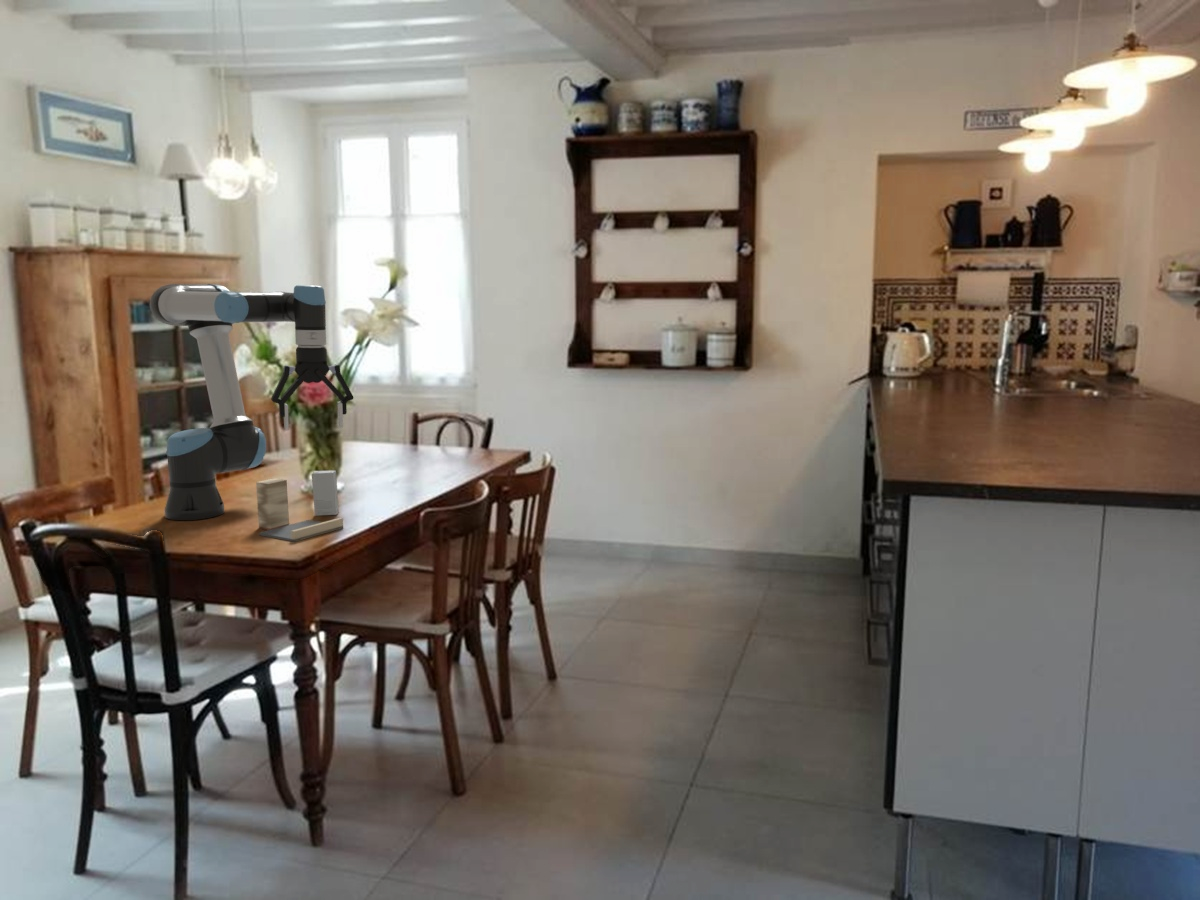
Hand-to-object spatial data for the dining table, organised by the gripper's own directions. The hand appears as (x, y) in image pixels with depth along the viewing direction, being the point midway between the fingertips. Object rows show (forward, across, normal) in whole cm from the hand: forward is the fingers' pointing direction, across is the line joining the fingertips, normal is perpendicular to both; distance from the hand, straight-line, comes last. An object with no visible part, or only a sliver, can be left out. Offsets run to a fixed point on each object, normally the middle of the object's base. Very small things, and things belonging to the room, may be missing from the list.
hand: (313, 428), depth 237 cm
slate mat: (+26, -5, -6) cm, 27 cm away
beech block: (+26, -11, +2) cm, 28 cm away
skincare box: (+26, +4, +11) cm, 29 cm away
